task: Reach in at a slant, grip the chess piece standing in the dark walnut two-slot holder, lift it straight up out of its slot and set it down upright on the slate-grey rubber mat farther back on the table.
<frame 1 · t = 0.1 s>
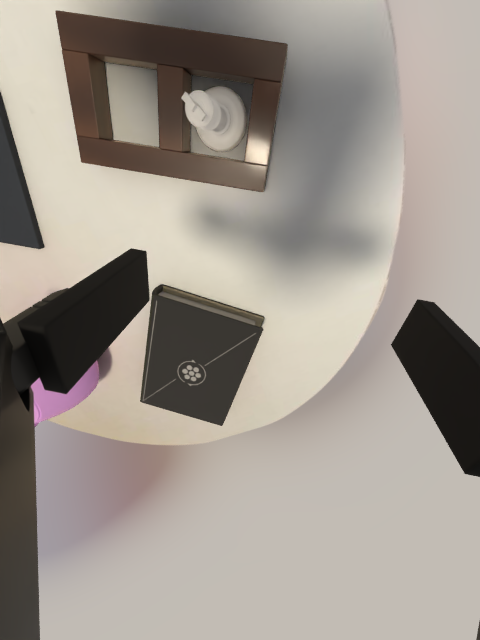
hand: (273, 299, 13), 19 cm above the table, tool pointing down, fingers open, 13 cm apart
chess piece: (221, 121, 25), resting in holder
teapot: (66, 340, 43), on the table
holder: (179, 114, 25), on the table
book: (197, 356, 41), on the table
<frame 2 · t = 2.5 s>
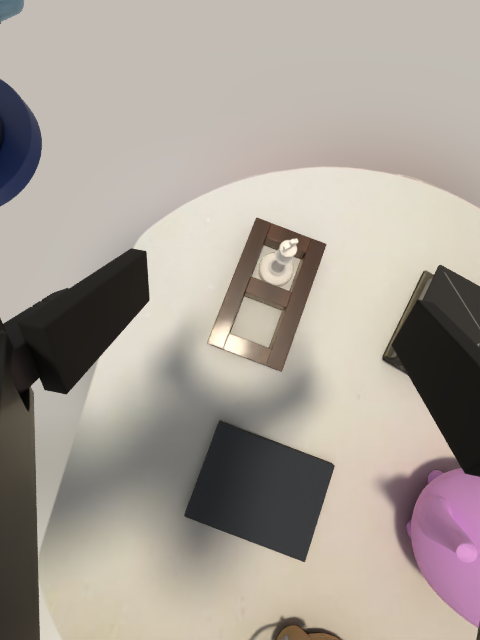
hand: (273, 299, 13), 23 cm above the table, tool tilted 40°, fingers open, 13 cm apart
chess piece: (275, 270, 38), resting in holder
teapot: (441, 512, 35), on the table
holder: (265, 295, 37), on the table
book: (468, 351, 38), on the table
mat: (260, 487, 34), on the table
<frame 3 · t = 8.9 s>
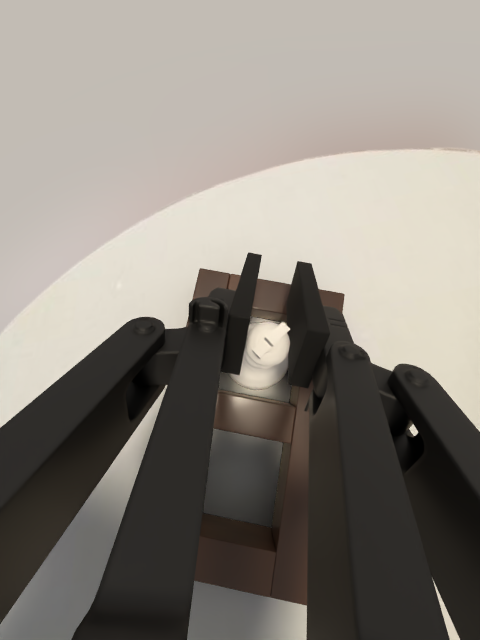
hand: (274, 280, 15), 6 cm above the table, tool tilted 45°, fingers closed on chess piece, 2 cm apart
chess piece: (256, 355, 20), resting in holder, touching gripper
holder: (246, 410, 19), on the table
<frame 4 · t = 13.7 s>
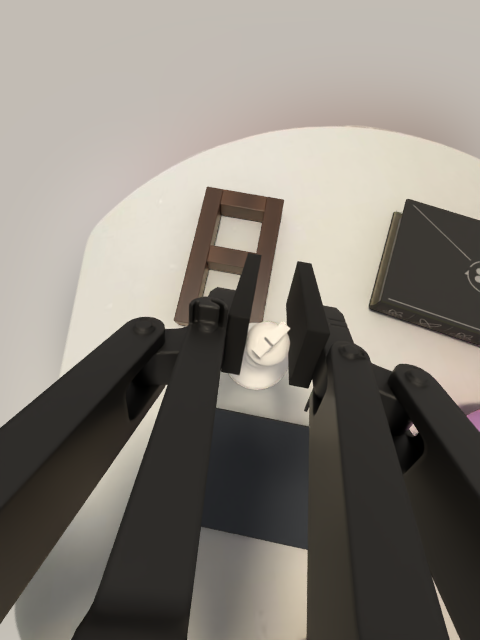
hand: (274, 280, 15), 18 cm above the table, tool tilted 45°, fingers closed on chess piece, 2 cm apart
chess piece: (256, 355, 20), point 13 cm above the table, touching gripper
holder: (232, 265, 35), on the table
book: (460, 285, 34), on the table
mat: (260, 473, 30), on the table
when the fingers open (6 cm above the table, at t = 18.6 s): chess piece stays where it is, resting on mat.
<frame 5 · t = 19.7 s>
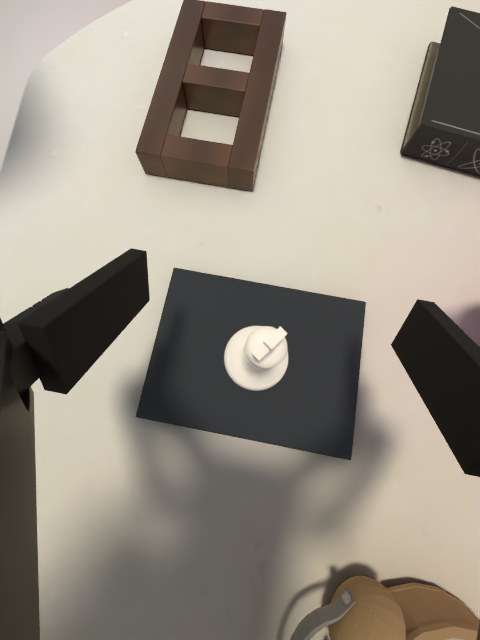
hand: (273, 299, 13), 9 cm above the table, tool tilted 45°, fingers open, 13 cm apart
chess piece: (255, 357, 20), point 1 cm above the table, touching mat
holder: (218, 104, 26), on the table
mat: (255, 357, 21), on the table
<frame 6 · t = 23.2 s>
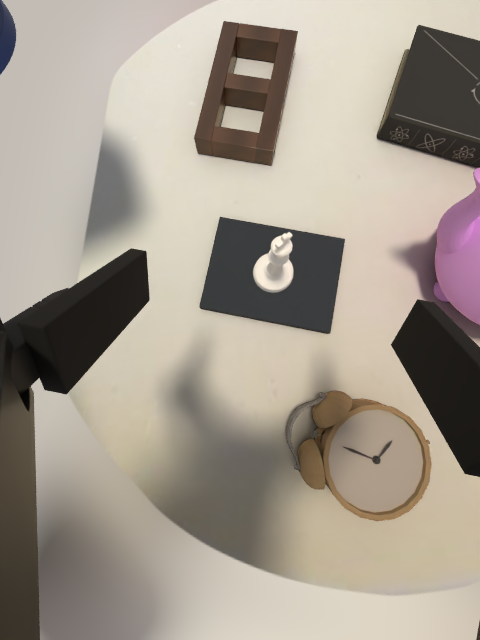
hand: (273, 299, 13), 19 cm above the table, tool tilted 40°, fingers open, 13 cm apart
alarm clock: (346, 442, 30), on the table
chess piece: (272, 273, 32), point 1 cm above the table, touching mat
teapot: (469, 272, 33), on the table
holder: (247, 101, 37), on the table
book: (467, 117, 36), on the table
mat: (272, 274, 33), on the table
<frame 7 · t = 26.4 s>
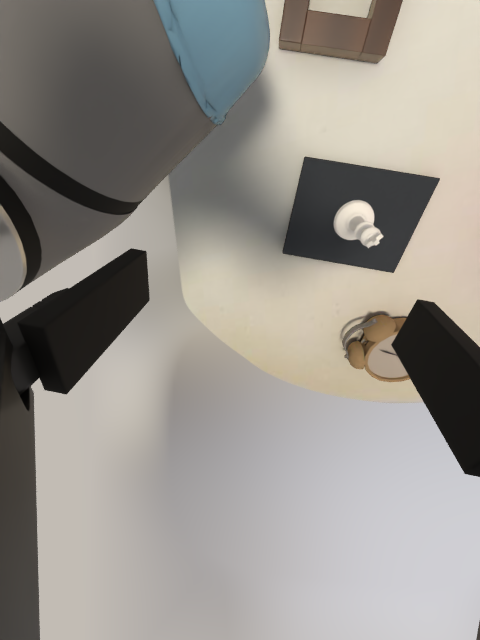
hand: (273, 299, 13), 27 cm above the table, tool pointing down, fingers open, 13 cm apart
alarm clock: (383, 339, 45), on the table
chess piece: (352, 220, 35), point 1 cm above the table, touching mat
mat: (351, 218, 35), on the table
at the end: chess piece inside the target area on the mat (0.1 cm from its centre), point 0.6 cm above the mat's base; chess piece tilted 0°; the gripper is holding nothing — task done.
